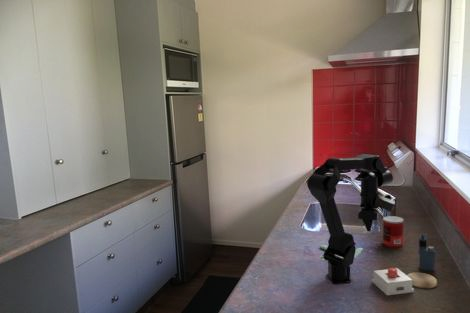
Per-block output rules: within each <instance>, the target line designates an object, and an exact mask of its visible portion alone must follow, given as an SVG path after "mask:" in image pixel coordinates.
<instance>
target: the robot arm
mask: <svg viewBox="0 0 470 313" xmlns="http://www.w3.org/2000/svg"><path fill="white" fill-rule="evenodd" d="M349 170H360V173H358V175H357V176H356V178H358V179H360V194H359V196H360V205H359V206H360V209H359V210H358V213H357V218H358V219H359V220H362V222H363V224H364V227H365V228H366V231H367V232H371V231H372V228H373V221H378V217H379V210H378V209H379V208H380V209H384V210H385V211H387V212H390V213H391V212H393V209H394V208H395V205H396V202H395V200H394V199H392V195H391V194H387V193H386V194H385V195H380V192H379V188H380V187H381V188H382V187H383V186H389V185H390V184H392V182H393V180H394V177H393V176H394V175H393V174H392V172H391V171H390V170H389V167H388V166H385V165H384V163H383V161H382V160H381V157H380V155H376V154H366V153H361V154H357V155H356V156H355V157H340V158H339V157H337V158H335V157H329V158H327V159H326V160H325V162H324V163H323V164H321V165H320V166H318V167H317V168H316V169H314V170H313V172H312V174H310V176H309V178H308V179H307V182H306V183H307V184H306V185H307V188H308V190H309V192H310V194H311V195H312V197H314V198H315V200H317V202H318V204H319V206H320V208H321V212H322V215H323V219H324V221H325V224H326V227H327V230H328V232H329V238H328V240H327V241H328V243H327V244H328V245H327V246H328V247H327V249H326V251H325V250H324V253H323V254H322V255H323V256H324V259H325V260H327V261H326V262H327V273H326V275H325V276H326V277H327V278H328V279H329V281H330V282H331V283H332V284H333V285H336V284H344V283H351V282H352V279H351V265H353V264H354V261H355V258H354V256H355V251H356V242H355V240H354V236H353V234H350V233H348V232H346V231H345V229H344V226H343V222H342V220H341V216H340V213H339V209H338V206H337V203H336V200H335V195H336V193H337V186H338V184H339V182H340V181H341V172H342V171H349ZM330 171H333V173H332V174H331V176H330V175H327V174H328V173H329V172H330ZM336 255H338V256H340V257H338V256H336ZM341 257H343V258H341Z"/></svg>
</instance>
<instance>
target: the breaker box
mask: <svg viewBox="0 0 470 313" xmlns="http://www.w3.org/2000/svg"><path fill="white" fill-rule="evenodd" d="M394 268H395V269H397V278H389V277H388V268H387V269H378V270H373V278H372V280H371V282H372V283H373V284H374V285H375V286H376V287H378V288H379V290H381V291H382V292H383V293H384V295H386V296H392V295H401V294H409V293H410V294H411V293H414V292H415V290H414V289H415V288H413V285H412V279H411V278H409V277H408V276H407V275H408V274H406V273H404V272H403V271H401V269H399V268H398V267H394Z"/></svg>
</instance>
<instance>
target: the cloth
mask: <svg viewBox="0 0 470 313" xmlns="http://www.w3.org/2000/svg"><path fill="white" fill-rule="evenodd" d="M328 246H329V245H325V244H322V245H319V250H320V249H321V250H323V251H324V252H325V251H326V249H327V247H328ZM355 250H356V251H355V256H354V259H355V258H357V256H359V255H360V254H361V253H362V251H363V247H357V248H355ZM336 256H338V255H336ZM338 257H340V256H338ZM319 258H321V261H322V260H323V261H322V262H328V261H327V260H325V259H324V256H322V255H319ZM341 258H343V257H341Z"/></svg>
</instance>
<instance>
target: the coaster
mask: <svg viewBox="0 0 470 313" xmlns="http://www.w3.org/2000/svg"><path fill="white" fill-rule="evenodd" d="M406 275H407V276H408V277H409V278H411V279H412V287H417V288H420V289H421V288H422V289H433V288H436V287H437V285H438V280H437V279H436V278H435V277H434V276H432V275H431V274H428V273H424V272H420V271H419V272H410V273H408V274H406Z"/></svg>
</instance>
